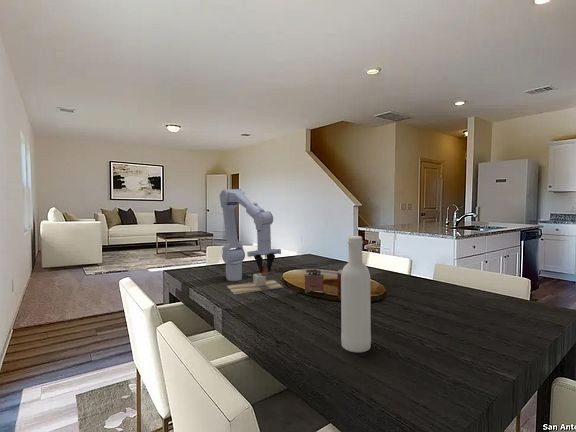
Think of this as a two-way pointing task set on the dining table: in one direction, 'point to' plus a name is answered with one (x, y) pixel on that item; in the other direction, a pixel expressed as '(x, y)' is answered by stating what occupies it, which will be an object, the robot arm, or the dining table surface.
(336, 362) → the dining table surface
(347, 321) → the bottle
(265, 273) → the awl
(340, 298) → the canned food
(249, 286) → the subfloor panel
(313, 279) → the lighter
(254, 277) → the block
